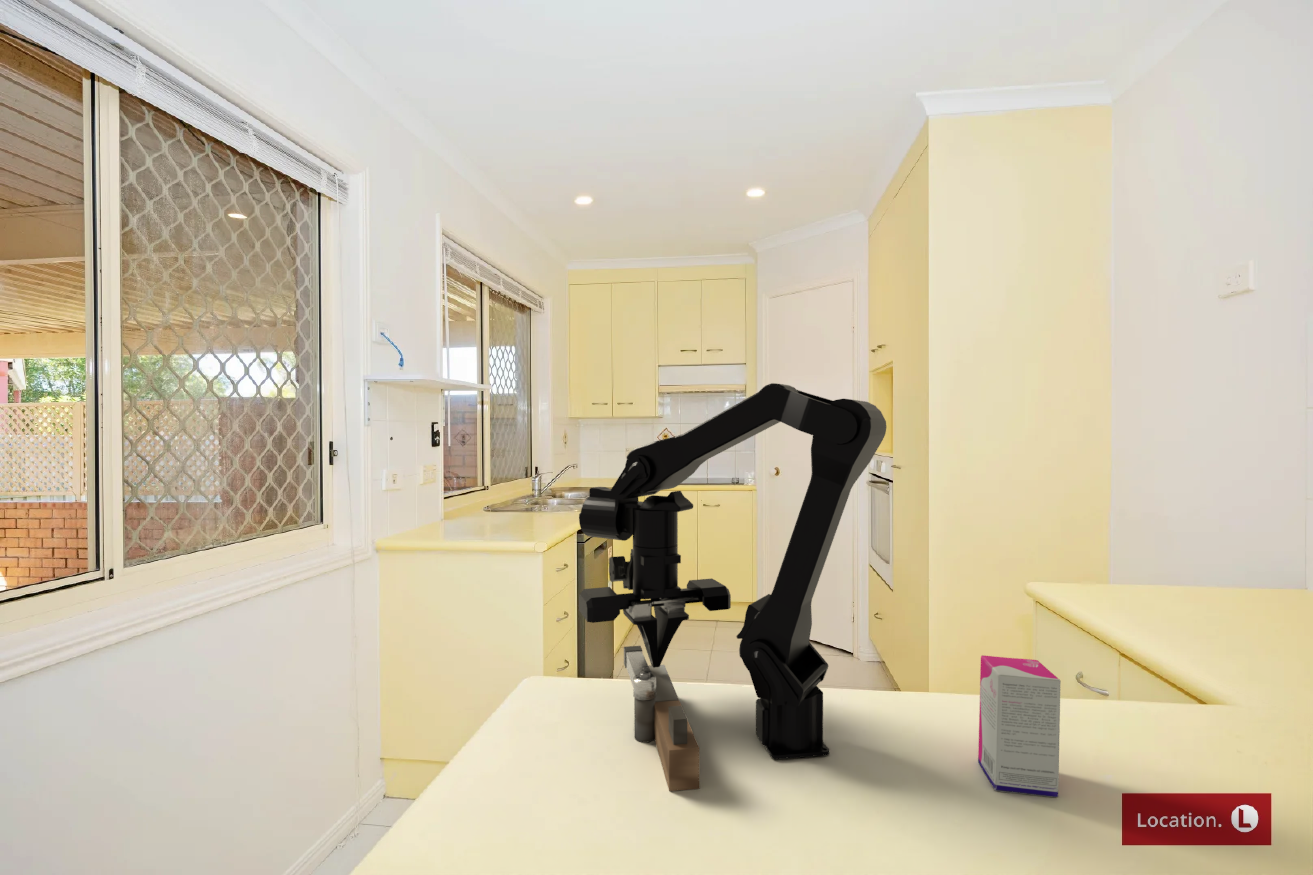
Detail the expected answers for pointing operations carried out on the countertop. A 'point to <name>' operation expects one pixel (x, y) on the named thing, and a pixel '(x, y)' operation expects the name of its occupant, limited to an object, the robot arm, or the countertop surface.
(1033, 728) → the supplement box
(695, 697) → the countertop surface
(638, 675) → the bar
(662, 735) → the wooden block clamp
